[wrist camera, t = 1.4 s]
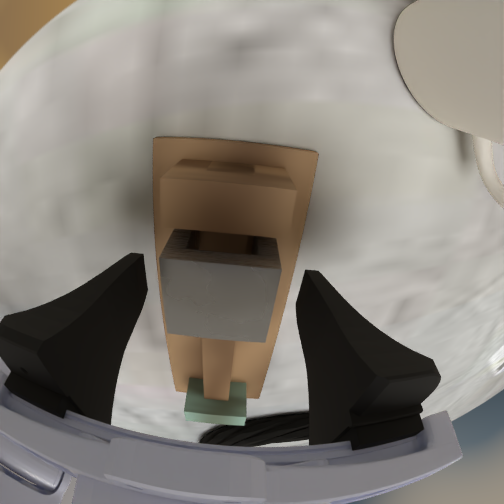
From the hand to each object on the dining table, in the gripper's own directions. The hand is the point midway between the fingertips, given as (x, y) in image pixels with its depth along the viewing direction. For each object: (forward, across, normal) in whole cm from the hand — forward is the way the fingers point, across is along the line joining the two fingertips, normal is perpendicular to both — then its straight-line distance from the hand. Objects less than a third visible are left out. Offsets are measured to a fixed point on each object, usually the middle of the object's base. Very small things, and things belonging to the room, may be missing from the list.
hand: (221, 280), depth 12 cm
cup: (+4, -12, -11) cm, 17 cm away
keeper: (+4, 0, 0) cm, 4 cm away
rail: (+4, 0, +6) cm, 7 cm away
